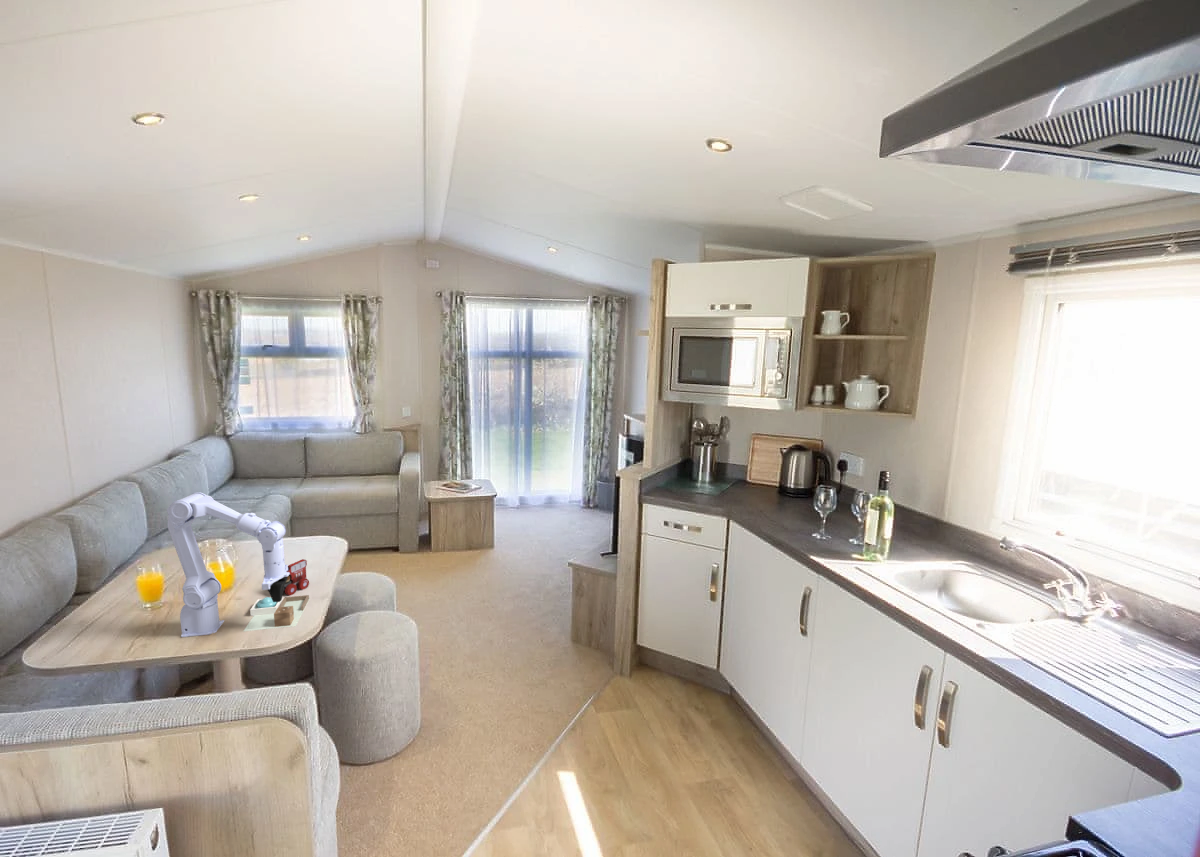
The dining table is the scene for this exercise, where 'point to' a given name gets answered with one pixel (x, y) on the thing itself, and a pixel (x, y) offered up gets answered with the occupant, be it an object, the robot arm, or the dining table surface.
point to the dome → (266, 603)
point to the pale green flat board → (265, 616)
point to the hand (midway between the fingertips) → (277, 601)
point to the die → (283, 616)
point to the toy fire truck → (296, 577)
